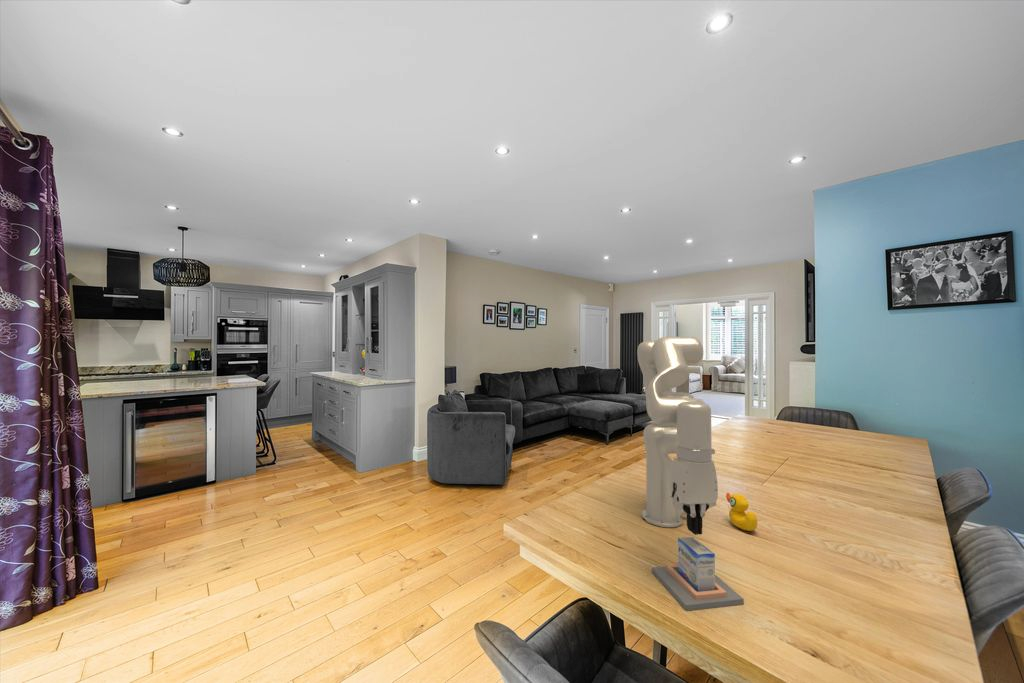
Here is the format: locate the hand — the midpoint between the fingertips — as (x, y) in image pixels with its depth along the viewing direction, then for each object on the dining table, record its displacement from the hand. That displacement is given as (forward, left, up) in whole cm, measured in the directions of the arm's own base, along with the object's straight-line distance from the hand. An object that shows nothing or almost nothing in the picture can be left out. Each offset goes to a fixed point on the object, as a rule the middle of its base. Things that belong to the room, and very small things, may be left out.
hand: (694, 531), depth 87 cm
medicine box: (0, 0, -12) cm, 12 cm away
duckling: (-34, -25, -13) cm, 44 cm away
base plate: (0, 0, -13) cm, 13 cm away
